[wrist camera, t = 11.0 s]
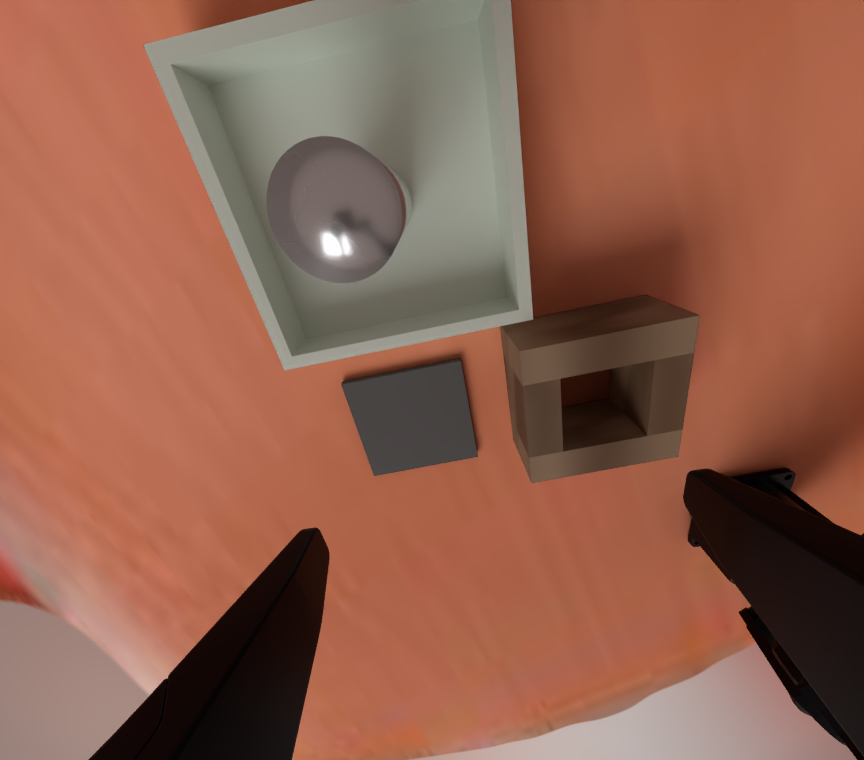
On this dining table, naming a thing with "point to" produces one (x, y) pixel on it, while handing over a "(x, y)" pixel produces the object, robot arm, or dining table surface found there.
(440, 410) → the mat
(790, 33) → the dining table surface
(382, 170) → the pin
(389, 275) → the tray
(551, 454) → the brown hollow block
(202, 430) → the dining table surface
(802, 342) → the dining table surface
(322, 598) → the robot arm
